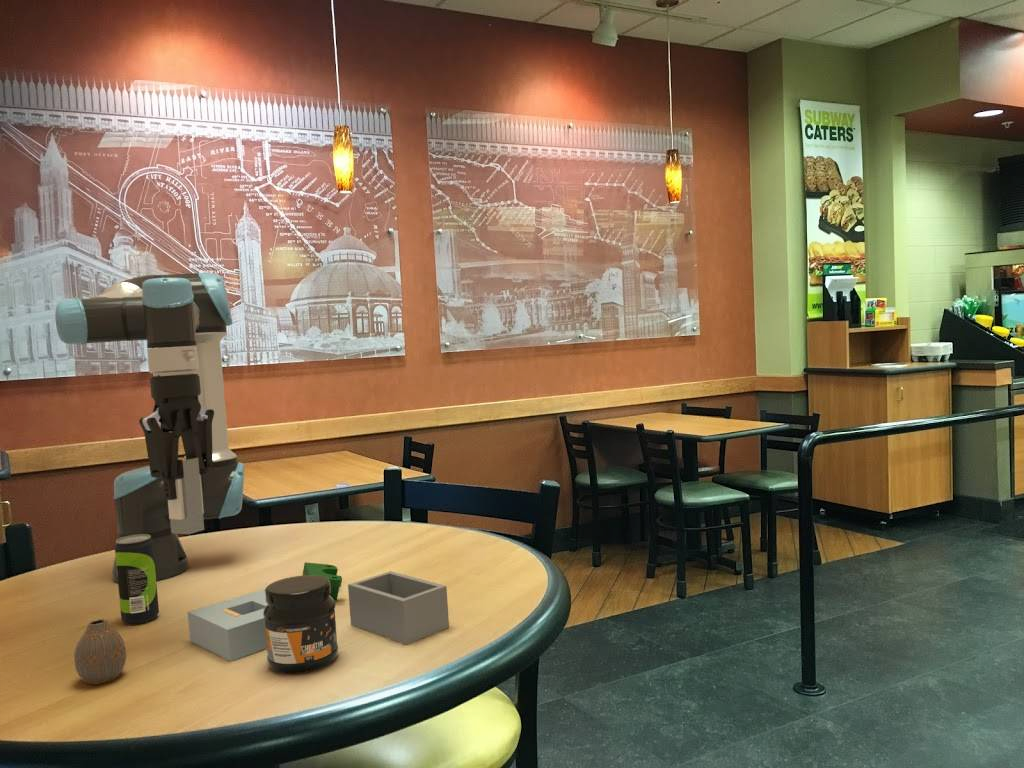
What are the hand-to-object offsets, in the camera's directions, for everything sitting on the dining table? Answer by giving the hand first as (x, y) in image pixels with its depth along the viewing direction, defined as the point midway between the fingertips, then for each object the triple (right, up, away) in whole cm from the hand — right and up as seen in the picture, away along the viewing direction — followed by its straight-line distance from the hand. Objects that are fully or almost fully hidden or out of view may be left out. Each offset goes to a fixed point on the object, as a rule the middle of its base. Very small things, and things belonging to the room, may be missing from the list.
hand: (186, 515), depth 134 cm
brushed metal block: (0, -3, 0) cm, 3 cm away
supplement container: (+22, -21, -10) cm, 32 cm away
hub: (+10, -20, +1) cm, 23 cm away
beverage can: (-14, -21, +14) cm, 29 cm away
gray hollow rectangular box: (+35, -19, +2) cm, 40 cm away
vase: (-8, -23, -12) cm, 27 cm away
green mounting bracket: (+18, -19, +20) cm, 33 cm away
